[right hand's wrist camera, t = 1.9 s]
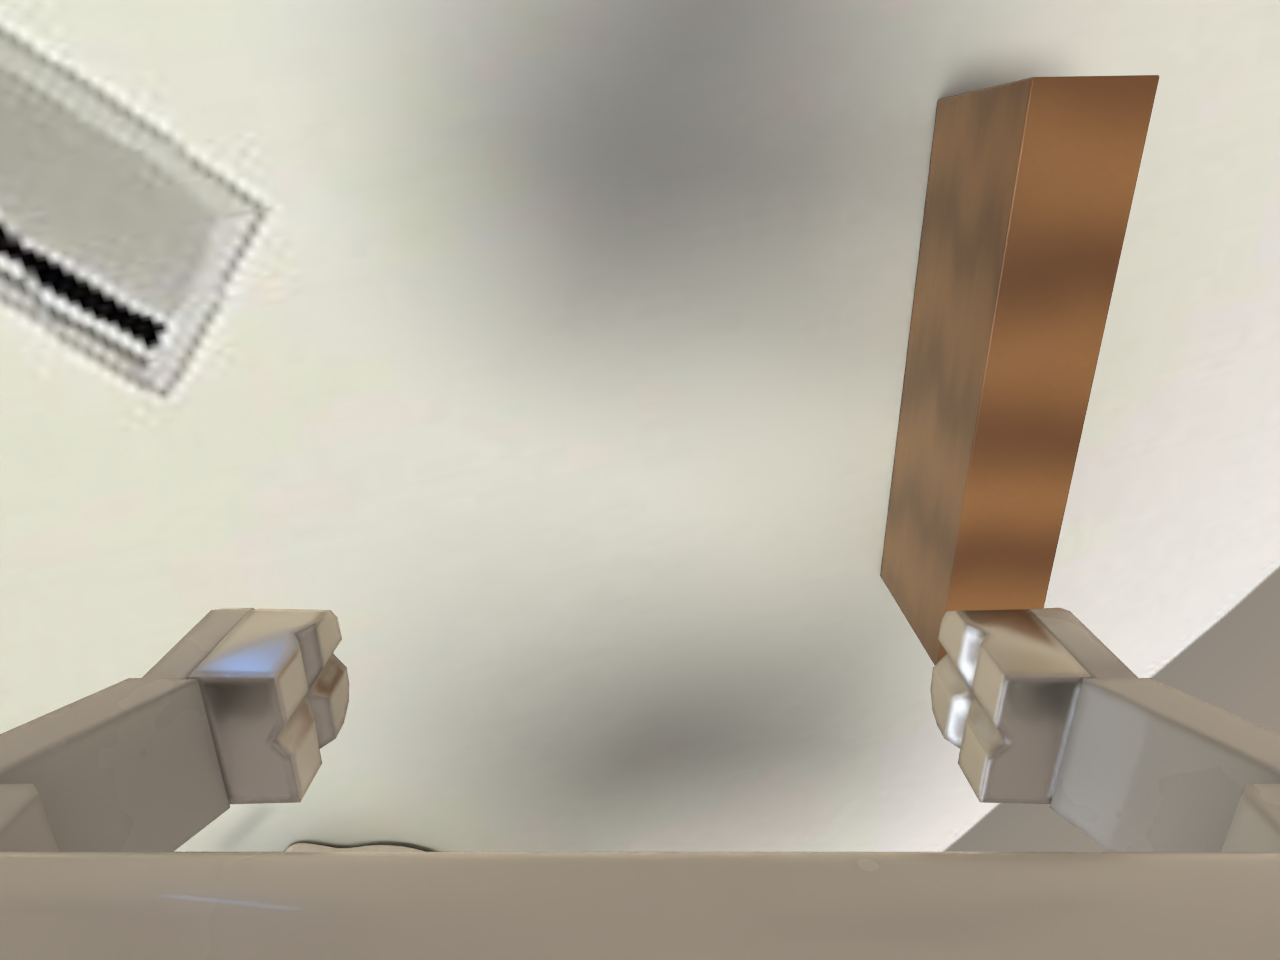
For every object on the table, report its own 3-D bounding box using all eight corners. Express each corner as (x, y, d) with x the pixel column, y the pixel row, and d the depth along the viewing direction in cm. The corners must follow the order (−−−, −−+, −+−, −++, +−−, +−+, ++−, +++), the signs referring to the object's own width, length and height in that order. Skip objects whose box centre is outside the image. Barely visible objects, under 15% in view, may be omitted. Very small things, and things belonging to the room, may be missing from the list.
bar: (937, 99, 34) (1032, 76, 26) (1035, 97, 34) (1160, 74, 26) (880, 576, 44) (936, 669, 36) (957, 575, 44) (1031, 667, 36)
